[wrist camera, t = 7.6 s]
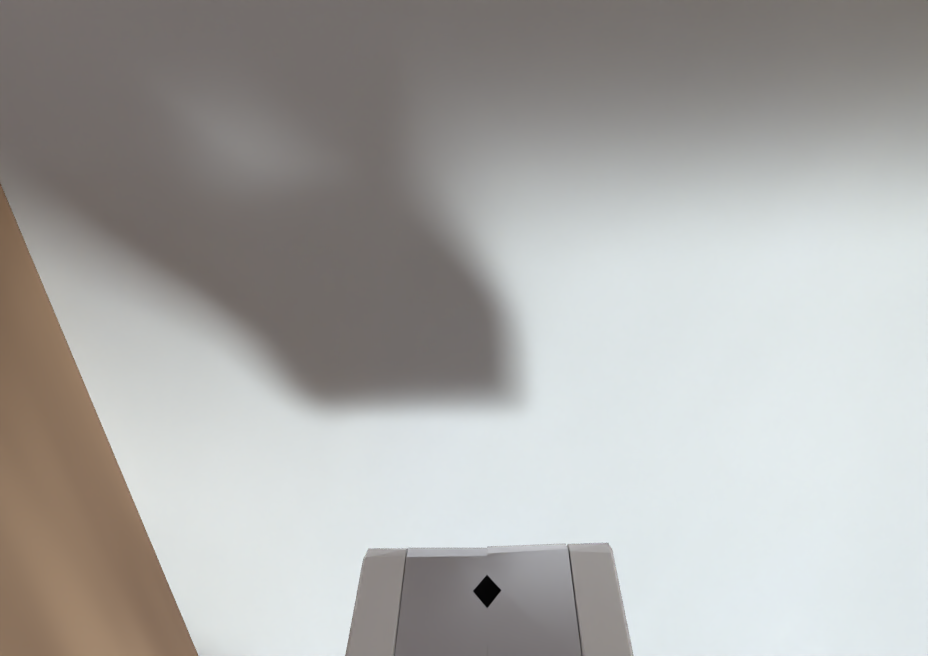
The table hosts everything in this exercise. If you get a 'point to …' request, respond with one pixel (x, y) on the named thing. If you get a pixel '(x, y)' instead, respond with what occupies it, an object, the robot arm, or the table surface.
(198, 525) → the table surface
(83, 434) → the walnut block
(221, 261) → the table surface
